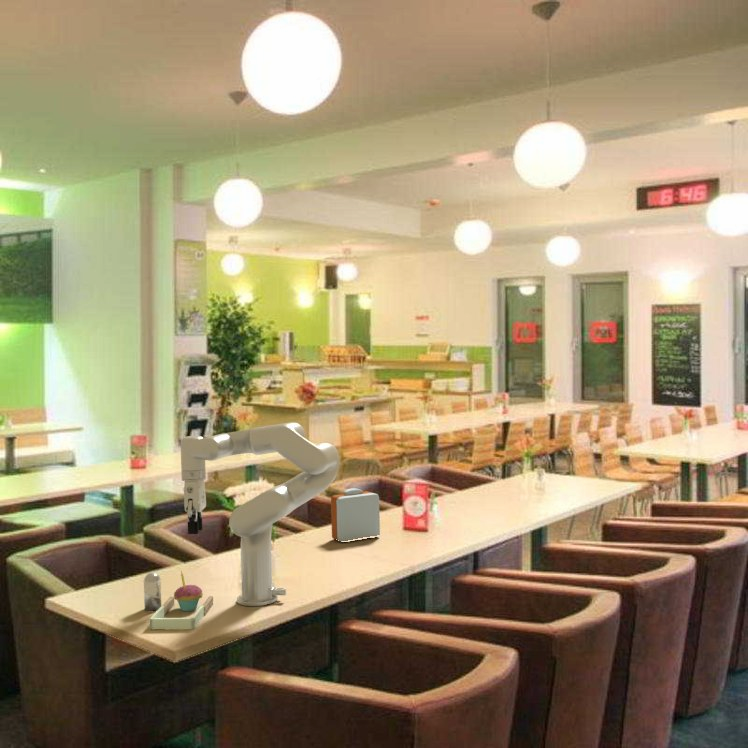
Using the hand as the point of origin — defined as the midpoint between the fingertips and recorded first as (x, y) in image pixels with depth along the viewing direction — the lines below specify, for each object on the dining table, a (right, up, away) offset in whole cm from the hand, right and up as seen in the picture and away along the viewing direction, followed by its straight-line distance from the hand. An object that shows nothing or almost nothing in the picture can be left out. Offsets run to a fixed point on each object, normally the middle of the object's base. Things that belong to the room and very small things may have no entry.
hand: (195, 531), depth 265 cm
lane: (0, -22, -12) cm, 25 cm away
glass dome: (-11, -22, -10) cm, 26 cm away
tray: (0, -22, -23) cm, 32 cm away
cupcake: (0, -22, -10) cm, 24 cm away
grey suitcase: (+50, -18, +77) cm, 94 cm away
